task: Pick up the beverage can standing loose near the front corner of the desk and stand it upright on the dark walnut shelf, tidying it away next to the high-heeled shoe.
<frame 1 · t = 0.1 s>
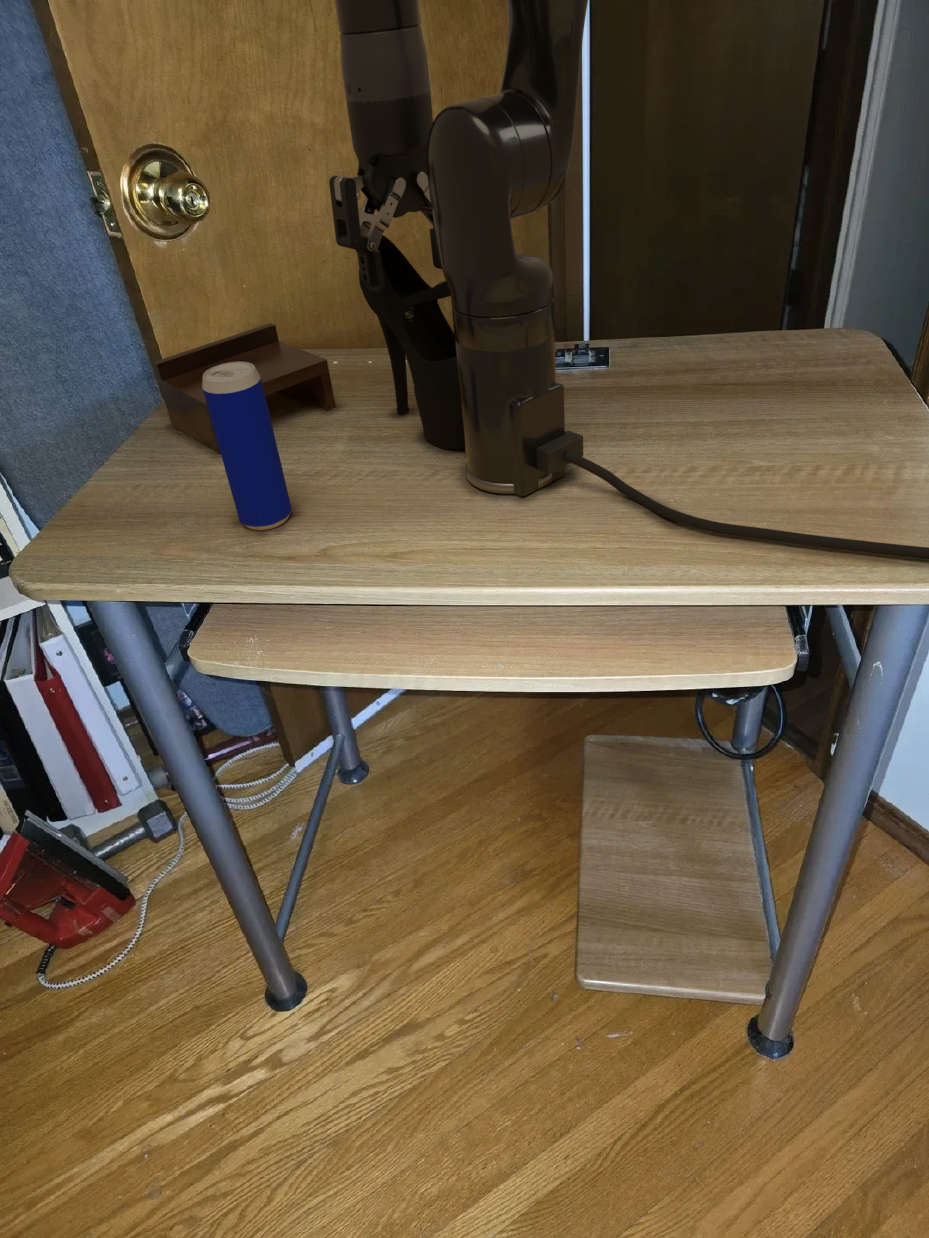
hand: (410, 279, 88), 17 cm above the table, tool pointing down, fingers open, 8 cm apart
beverage can: (267, 520, 87), on the table
high-heeled shoe: (440, 430, 100), on the table, touching arm
shelf: (254, 416, 107), on the table
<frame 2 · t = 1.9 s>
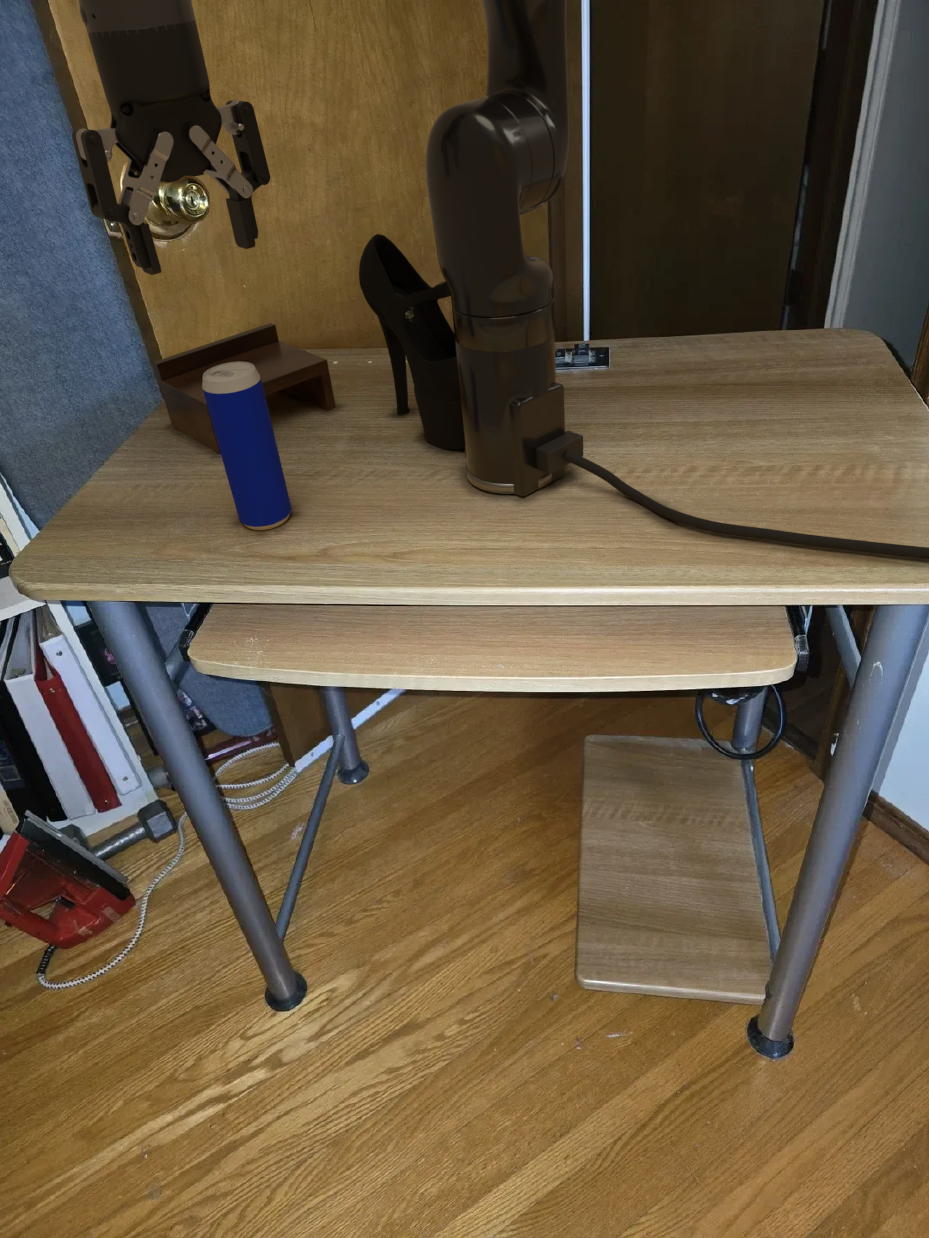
hand: (201, 259, 72), 24 cm above the table, tool pointing down, fingers open, 8 cm apart
nothing on the table moved.
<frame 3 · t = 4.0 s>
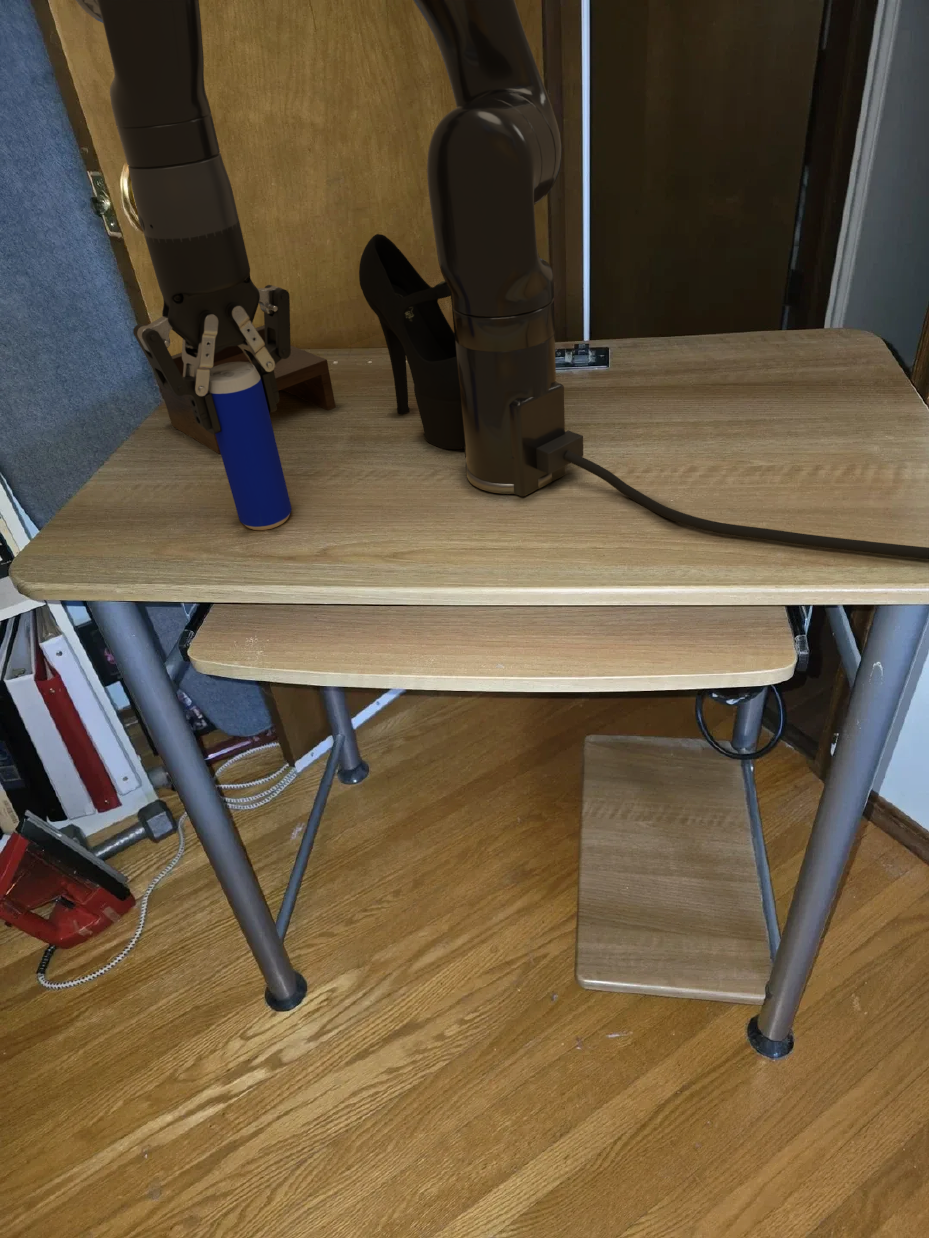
hand: (241, 419, 80), 10 cm above the table, tool pointing down, fingers closed on beverage can, 5 cm apart
beverage can: (267, 520, 87), on the table, touching gripper
everything else where it was.
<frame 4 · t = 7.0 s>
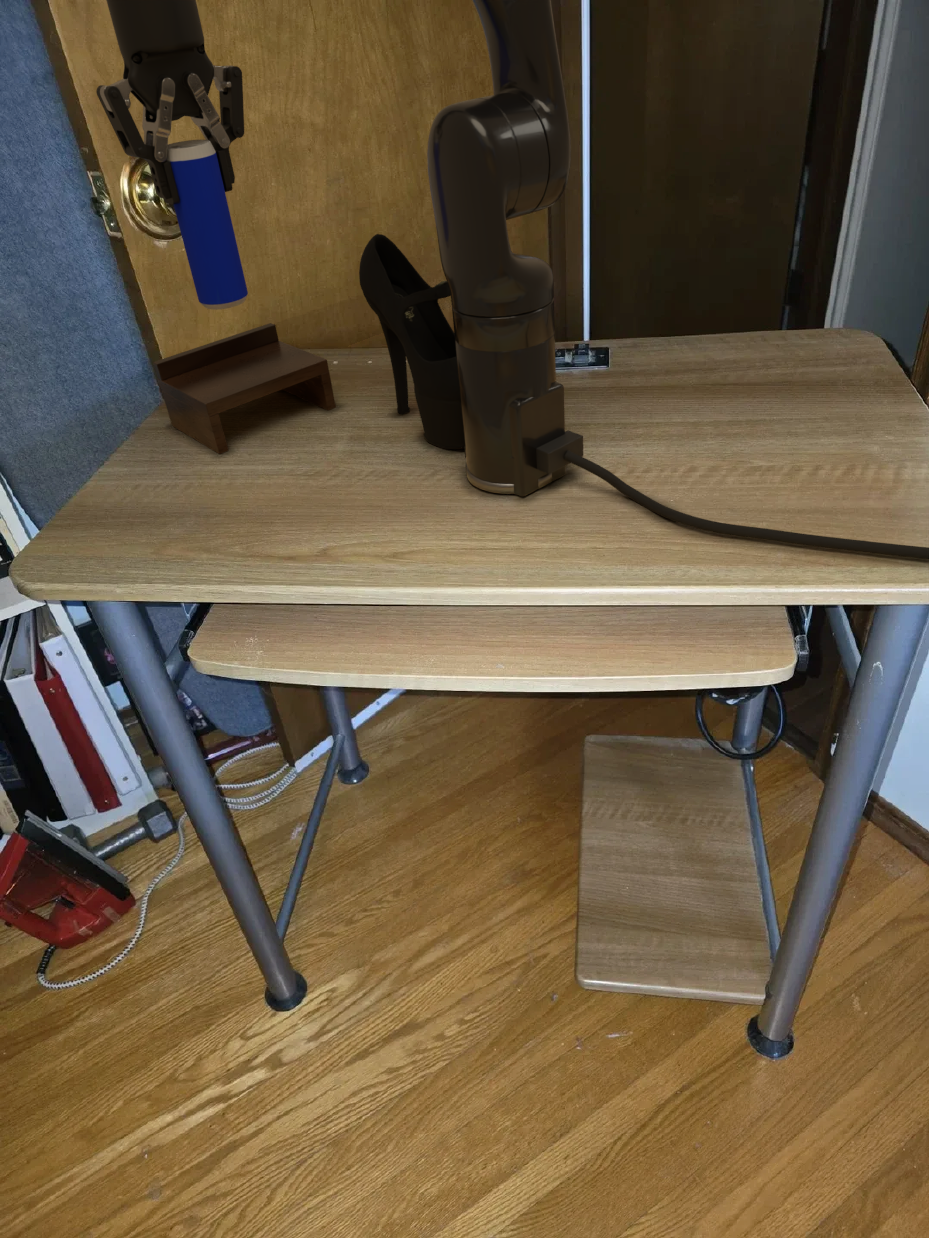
hand: (199, 196, 87), 26 cm above the table, tool pointing down, fingers closed on beverage can, 5 cm apart
beverage can: (225, 304, 93), point 15 cm above the table, touching gripper
everything else where it was.
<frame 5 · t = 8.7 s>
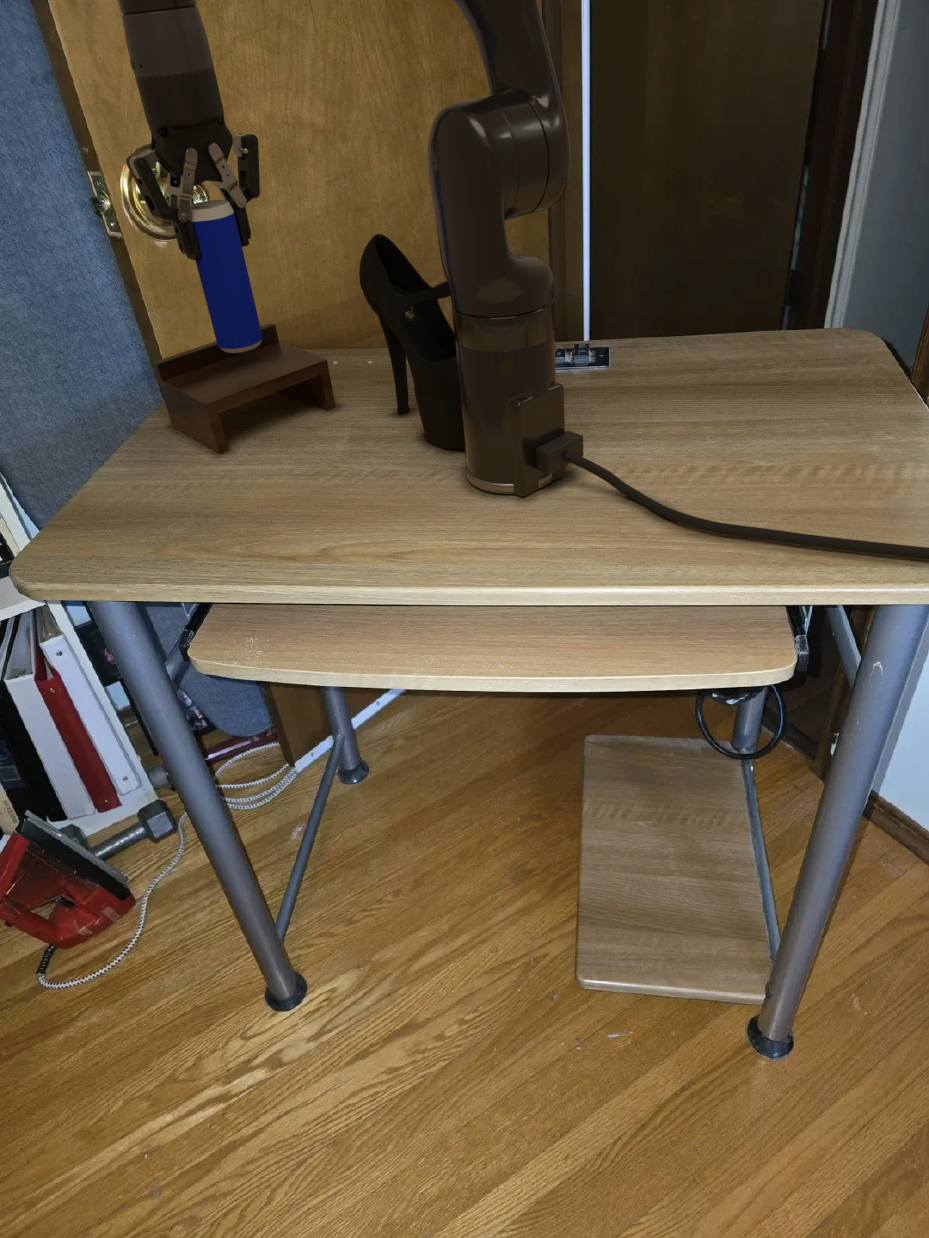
hand: (218, 251, 95), 19 cm above the table, tool pointing down, fingers closed on beverage can, 5 cm apart
beverage can: (241, 347, 101), point 9 cm above the table, touching gripper
everything else where it was.
when the fingers open (16 cm above the table, at t = 10.0 s): beverage can stays where it is, resting on shelf.
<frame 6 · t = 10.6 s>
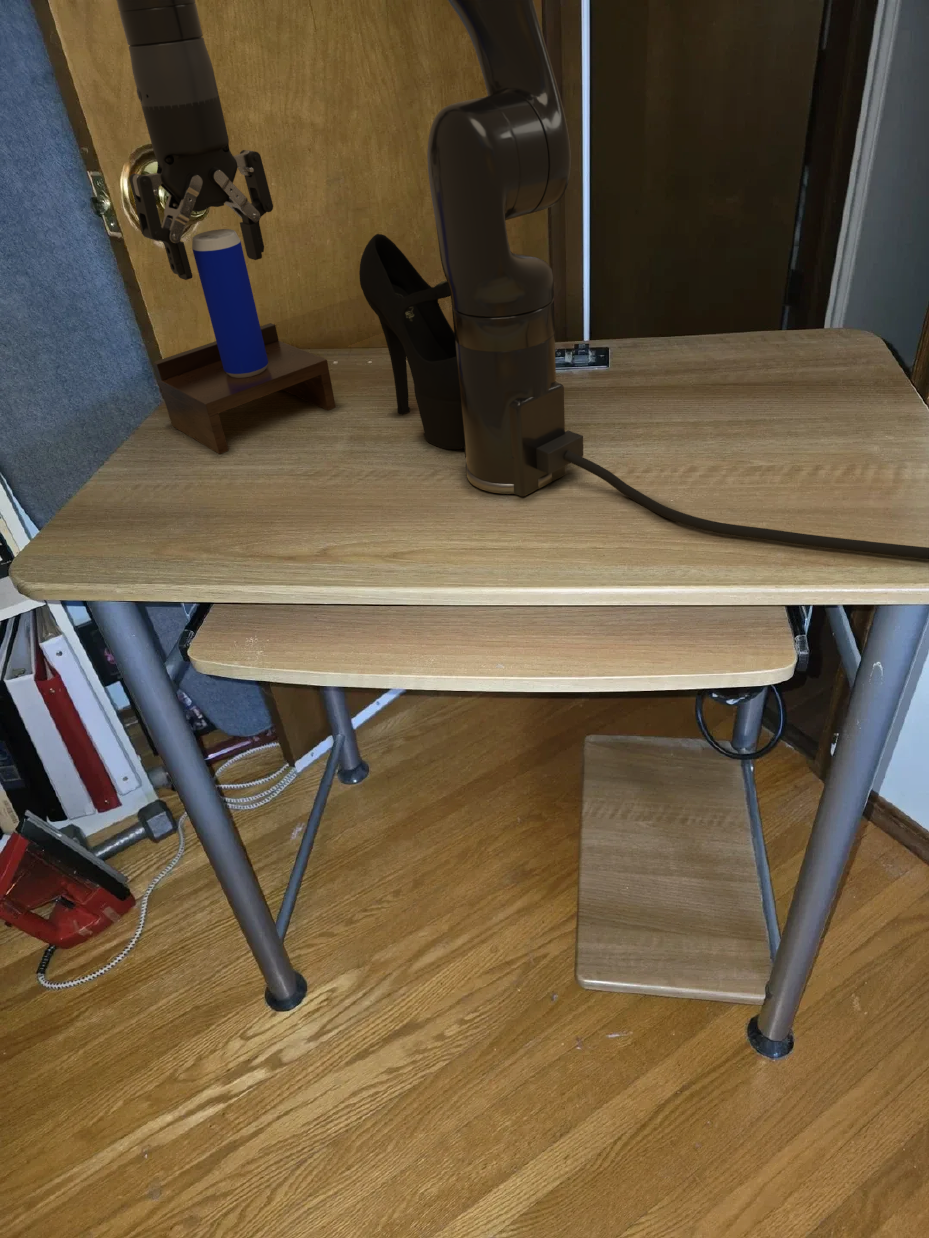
hand: (221, 268, 96), 18 cm above the table, tool pointing down, fingers open, 8 cm apart
beverage can: (247, 372, 103), point 6 cm above the table, touching shelf
everything else where it was.
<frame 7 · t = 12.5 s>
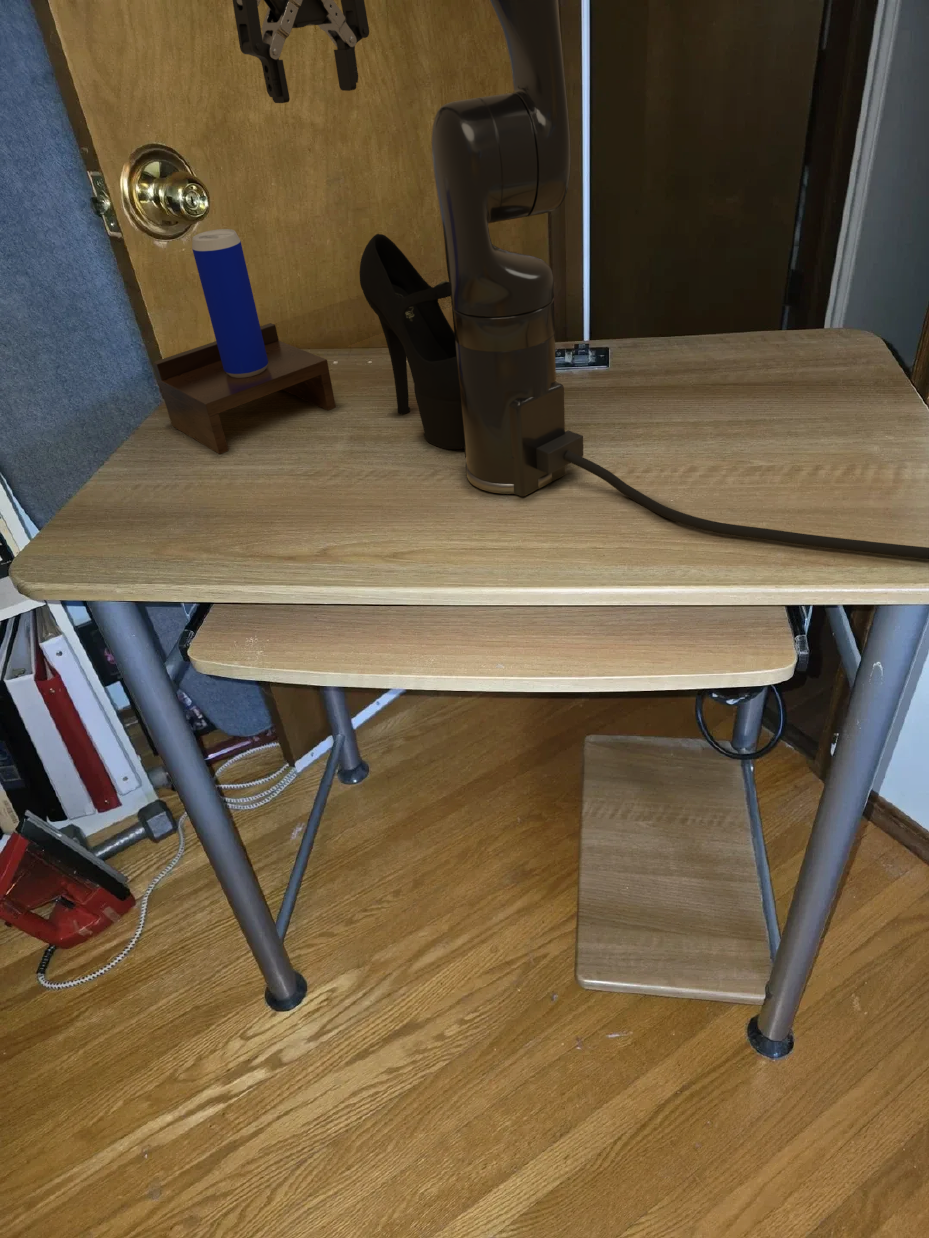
hand: (316, 96, 92), 32 cm above the table, tool pointing down, fingers open, 8 cm apart
nothing on the table moved.
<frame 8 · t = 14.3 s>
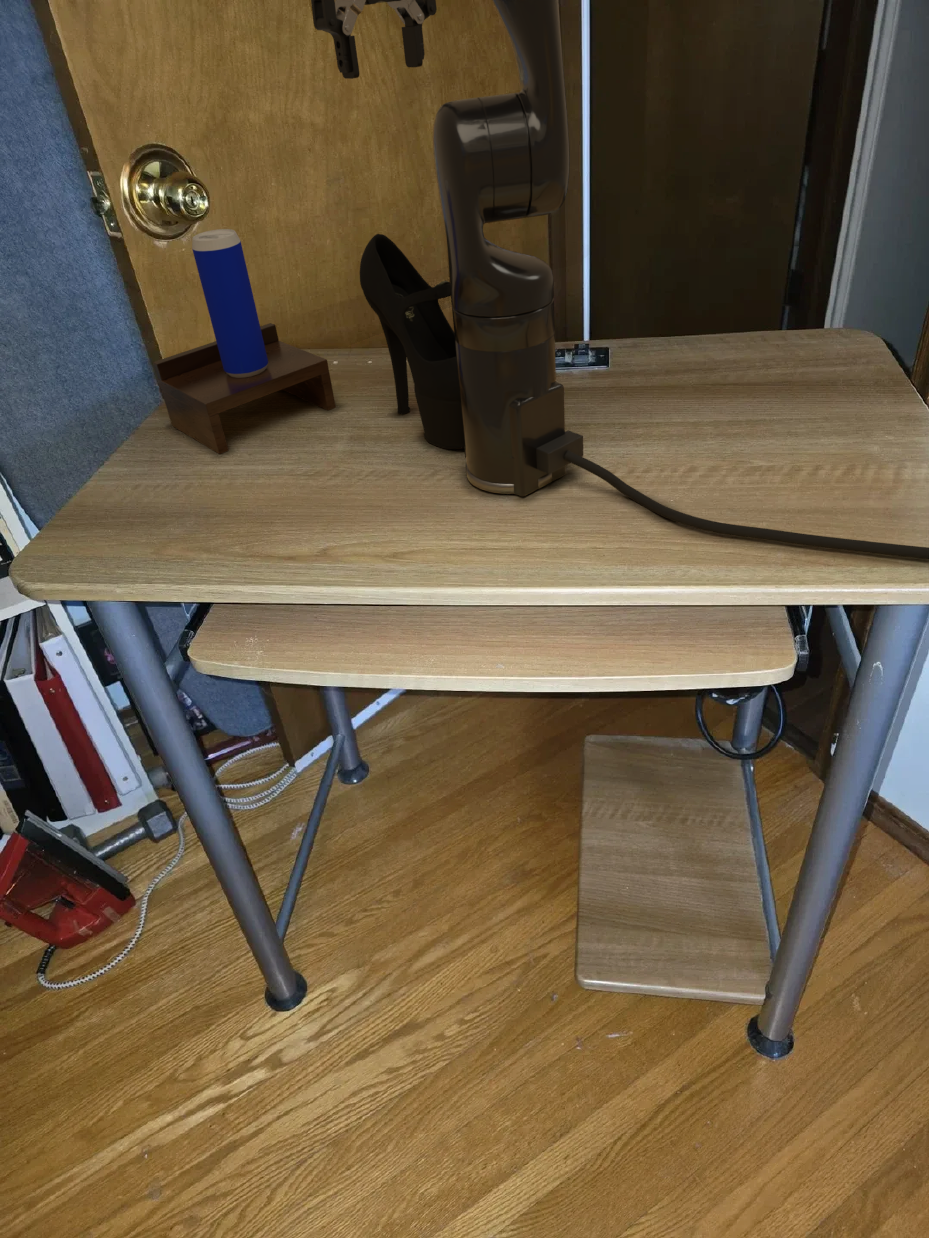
hand: (383, 72, 95), 33 cm above the table, tool pointing down, fingers open, 8 cm apart
nothing on the table moved.
at the end: beverage can inside the target area on the shelf (1.0 cm from its centre), point 5.8 cm above the shelf's base; beverage can tilted 0°; the gripper is holding nothing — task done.
